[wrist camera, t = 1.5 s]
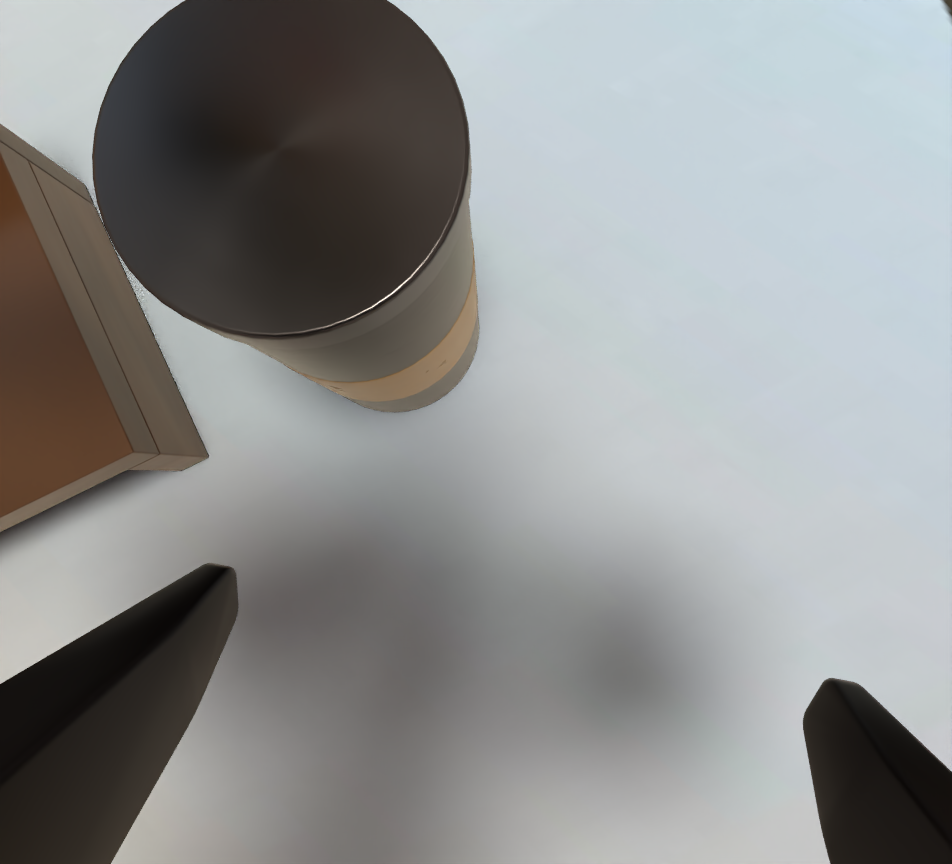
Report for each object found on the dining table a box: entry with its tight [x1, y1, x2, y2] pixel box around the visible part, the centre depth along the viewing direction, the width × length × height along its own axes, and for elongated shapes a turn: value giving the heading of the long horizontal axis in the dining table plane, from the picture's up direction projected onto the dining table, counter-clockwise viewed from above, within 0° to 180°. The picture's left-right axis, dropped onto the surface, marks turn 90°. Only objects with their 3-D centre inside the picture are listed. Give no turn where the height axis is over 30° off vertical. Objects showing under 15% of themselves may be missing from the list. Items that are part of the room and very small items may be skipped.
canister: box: [92, 0, 479, 412], centre depth 17 cm, size 7×7×13 cm
